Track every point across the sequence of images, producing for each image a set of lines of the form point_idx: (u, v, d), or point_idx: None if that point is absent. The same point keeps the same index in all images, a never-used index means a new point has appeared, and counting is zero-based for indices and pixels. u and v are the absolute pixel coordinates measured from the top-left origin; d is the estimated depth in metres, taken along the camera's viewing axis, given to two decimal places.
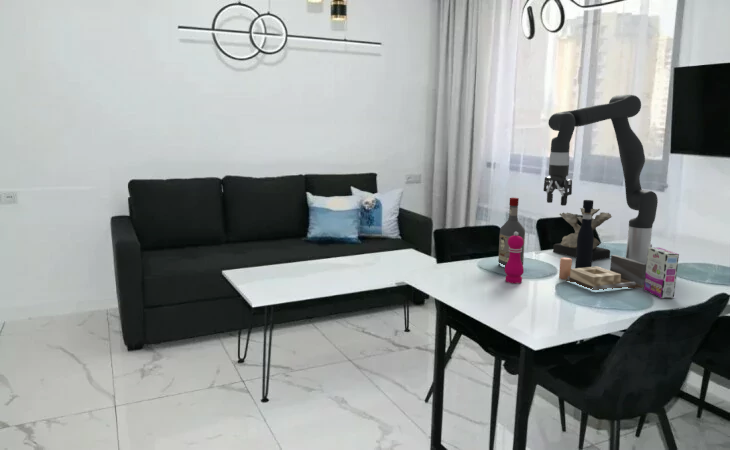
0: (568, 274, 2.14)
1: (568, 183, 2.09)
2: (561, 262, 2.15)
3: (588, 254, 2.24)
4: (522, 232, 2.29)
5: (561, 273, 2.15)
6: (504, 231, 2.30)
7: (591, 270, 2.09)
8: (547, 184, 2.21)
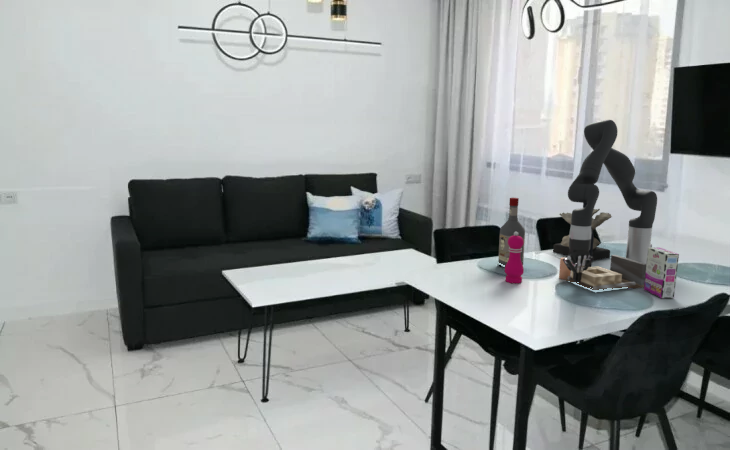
0: (568, 274, 2.14)
1: None
2: (561, 262, 2.15)
3: None
4: (522, 232, 2.29)
5: (561, 273, 2.15)
6: (504, 231, 2.30)
7: (592, 270, 2.09)
8: None
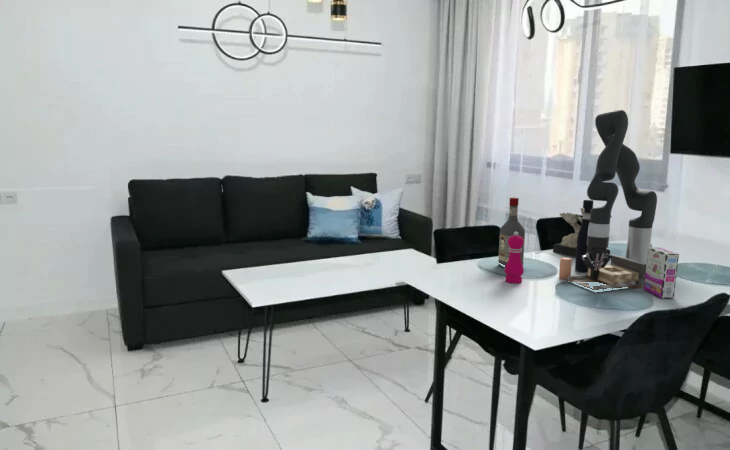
0: (568, 274, 2.14)
1: None
2: (561, 262, 2.15)
3: None
4: (522, 232, 2.29)
5: (561, 273, 2.15)
6: (504, 231, 2.30)
7: (609, 268, 2.12)
8: None
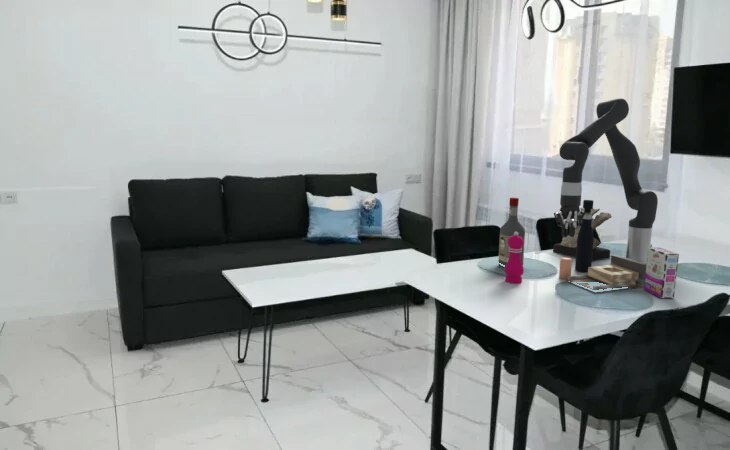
0: (568, 274, 2.14)
1: None
2: (561, 262, 2.15)
3: (588, 254, 2.24)
4: (522, 232, 2.29)
5: (561, 273, 2.15)
6: (504, 231, 2.30)
7: (609, 268, 2.12)
8: None
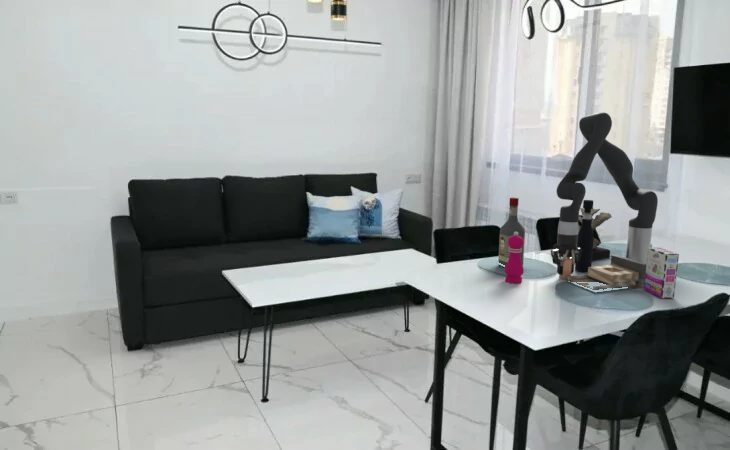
0: (568, 274, 2.14)
1: None
2: None
3: (588, 254, 2.24)
4: (522, 232, 2.29)
5: None
6: (504, 231, 2.30)
7: (609, 268, 2.12)
8: None
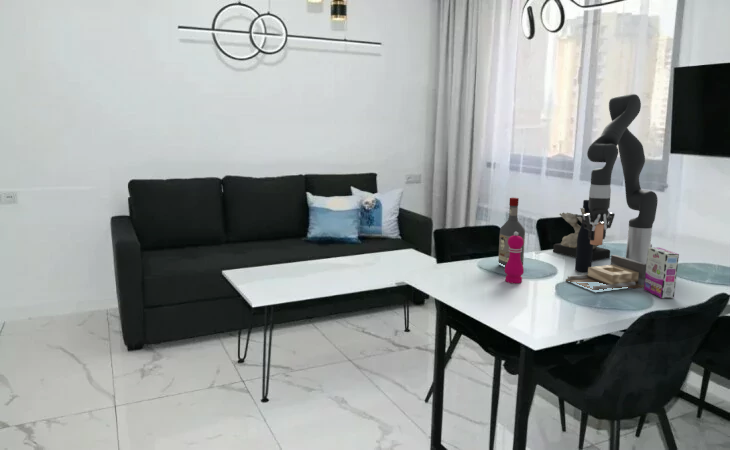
0: (600, 239, 2.08)
1: None
2: None
3: (588, 254, 2.24)
4: (522, 232, 2.29)
5: None
6: (504, 231, 2.30)
7: (609, 268, 2.12)
8: None
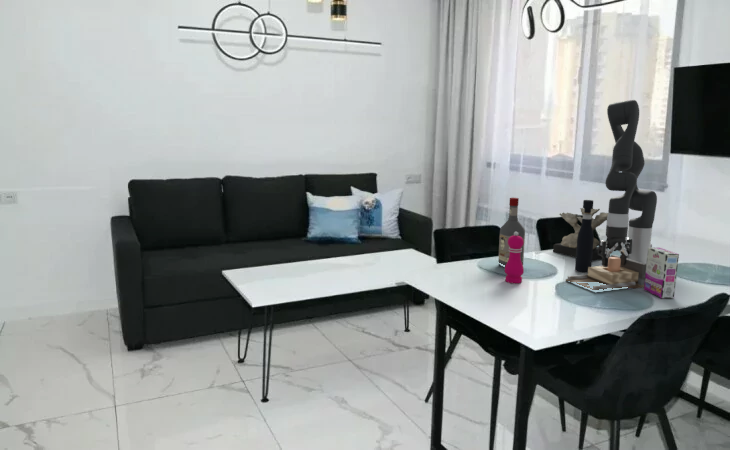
0: None
1: None
2: (609, 262, 2.08)
3: (588, 254, 2.24)
4: (522, 232, 2.29)
5: None
6: (504, 231, 2.30)
7: None
8: None
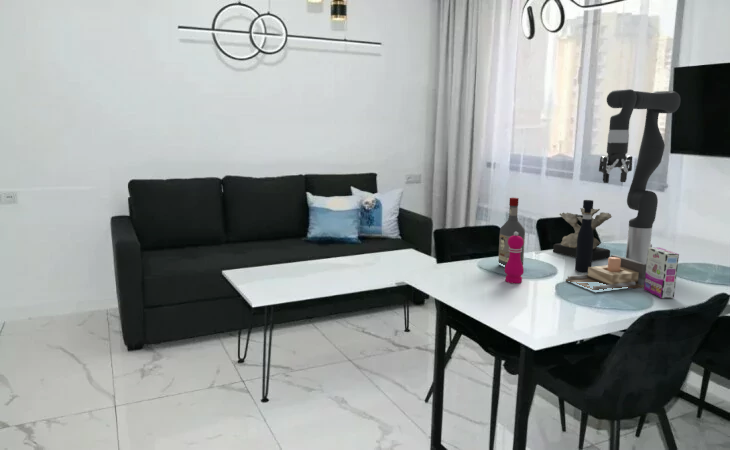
0: None
1: None
2: (609, 262, 2.08)
3: (588, 254, 2.24)
4: (522, 232, 2.29)
5: None
6: (504, 231, 2.30)
7: None
8: None
